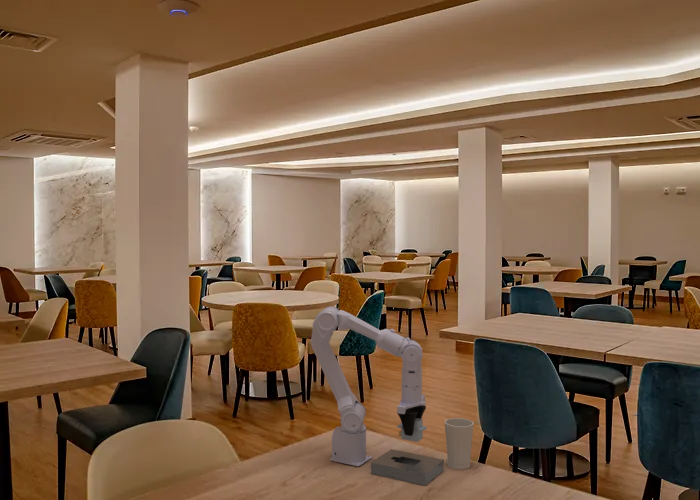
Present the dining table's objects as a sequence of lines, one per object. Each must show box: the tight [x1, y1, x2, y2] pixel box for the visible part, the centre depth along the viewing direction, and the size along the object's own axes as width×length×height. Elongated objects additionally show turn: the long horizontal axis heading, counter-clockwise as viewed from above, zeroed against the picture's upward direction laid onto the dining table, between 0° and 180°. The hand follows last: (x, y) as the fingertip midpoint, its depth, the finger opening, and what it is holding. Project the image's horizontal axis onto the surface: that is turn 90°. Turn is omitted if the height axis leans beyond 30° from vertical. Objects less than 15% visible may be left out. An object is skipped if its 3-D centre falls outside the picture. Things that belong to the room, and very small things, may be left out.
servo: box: [397, 418, 428, 443], centre depth 176 cm, size 8×3×6 cm, turn 60°
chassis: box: [370, 448, 445, 486], centre depth 169 cm, size 16×12×3 cm
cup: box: [444, 417, 475, 470], centre depth 174 cm, size 8×8×12 cm
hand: (411, 433), depth 176 cm, fingers closed on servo, 3 cm apart
